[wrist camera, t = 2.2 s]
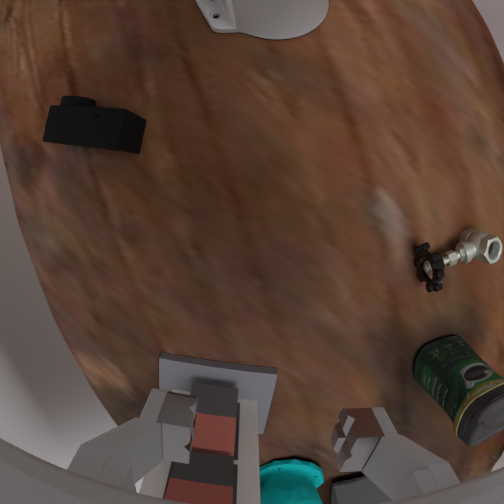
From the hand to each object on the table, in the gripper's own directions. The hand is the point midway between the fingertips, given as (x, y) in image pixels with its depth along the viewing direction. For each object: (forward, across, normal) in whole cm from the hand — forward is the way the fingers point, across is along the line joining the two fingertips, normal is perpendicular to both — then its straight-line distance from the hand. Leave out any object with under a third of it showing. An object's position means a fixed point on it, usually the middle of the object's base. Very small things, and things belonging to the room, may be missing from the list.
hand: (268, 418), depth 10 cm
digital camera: (+29, -20, +12) cm, 38 cm away
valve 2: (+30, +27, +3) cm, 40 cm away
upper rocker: (+15, -3, -21) cm, 26 cm away
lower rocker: (+26, -3, -19) cm, 32 cm away
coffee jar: (+29, +32, -14) cm, 45 cm away
